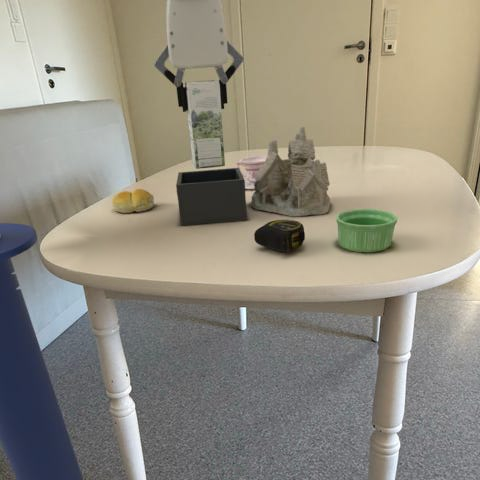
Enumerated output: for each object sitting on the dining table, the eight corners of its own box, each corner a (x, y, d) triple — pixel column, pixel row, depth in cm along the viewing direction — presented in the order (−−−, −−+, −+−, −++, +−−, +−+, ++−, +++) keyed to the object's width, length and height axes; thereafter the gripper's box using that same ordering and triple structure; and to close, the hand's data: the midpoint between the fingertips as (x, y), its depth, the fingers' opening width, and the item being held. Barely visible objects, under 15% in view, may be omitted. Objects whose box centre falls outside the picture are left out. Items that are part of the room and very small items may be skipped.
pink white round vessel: (281, 178, 117) (281, 153, 114) (280, 189, 106) (280, 162, 103) (236, 180, 118) (234, 156, 115) (231, 191, 108) (229, 164, 105)
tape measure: (252, 249, 71) (251, 226, 69) (282, 237, 75) (281, 216, 73) (283, 258, 67) (283, 234, 65) (313, 246, 70) (314, 223, 68)
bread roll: (116, 205, 102) (113, 188, 100) (155, 202, 102) (153, 185, 100) (110, 215, 95) (106, 196, 93) (152, 212, 95) (149, 193, 93)
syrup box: (220, 162, 89) (213, 79, 82) (225, 166, 84) (219, 79, 77) (192, 164, 88) (183, 82, 81) (195, 169, 83) (186, 82, 76)
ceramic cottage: (251, 197, 100) (250, 125, 92) (325, 197, 99) (331, 124, 91) (248, 222, 87) (247, 140, 78) (334, 222, 86) (341, 139, 77)
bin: (181, 225, 85) (176, 185, 81) (182, 208, 96) (178, 172, 92) (246, 220, 85) (244, 179, 82) (241, 204, 96) (238, 167, 93)
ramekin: (378, 258, 64) (381, 229, 62) (324, 247, 70) (325, 220, 68) (403, 240, 70) (407, 213, 68) (352, 232, 75) (353, 206, 73)
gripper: (242, -11, 76) (248, 105, 85) (141, -5, 76) (157, 112, 84) (247, -19, 70) (252, 107, 79) (136, -12, 69) (154, 114, 78)
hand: (203, 108), depth 81 cm, fingers closed on syrup box, 6 cm apart
